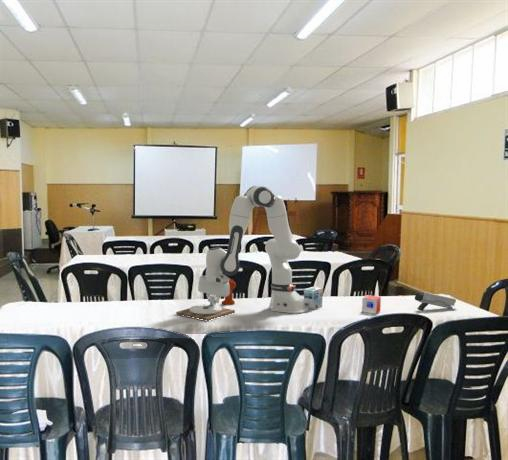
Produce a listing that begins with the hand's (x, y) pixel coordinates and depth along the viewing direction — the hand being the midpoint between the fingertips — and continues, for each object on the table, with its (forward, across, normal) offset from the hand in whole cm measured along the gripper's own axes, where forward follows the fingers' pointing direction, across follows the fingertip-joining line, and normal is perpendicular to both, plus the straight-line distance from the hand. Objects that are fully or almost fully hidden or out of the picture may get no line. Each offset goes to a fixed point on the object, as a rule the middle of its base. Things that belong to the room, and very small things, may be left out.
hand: (213, 302), depth 261 cm
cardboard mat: (+5, +1, -7) cm, 9 cm away
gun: (+3, +94, +83) cm, 126 cm away
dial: (+3, +1, -7) cm, 8 cm away
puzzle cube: (+4, +68, +55) cm, 88 cm away
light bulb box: (+4, +38, +43) cm, 57 cm away
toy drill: (+5, -8, +15) cm, 17 cm away
